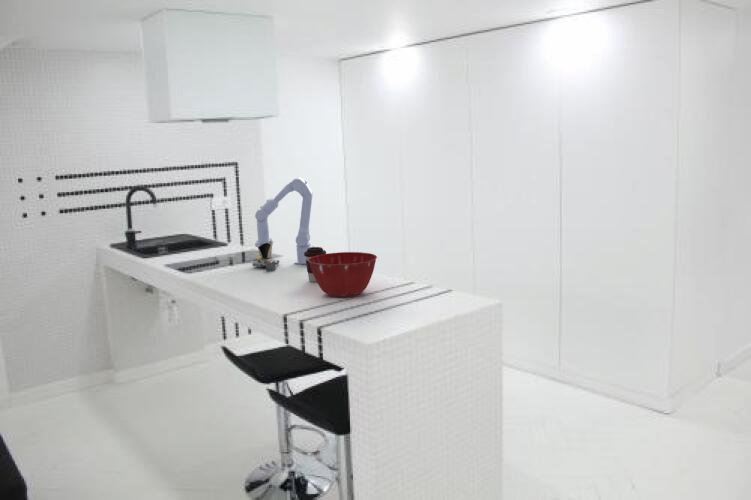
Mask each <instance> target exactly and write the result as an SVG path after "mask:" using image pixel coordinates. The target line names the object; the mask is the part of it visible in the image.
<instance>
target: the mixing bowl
mask: <svg viewBox="0 0 751 500" xmlns="http://www.w3.org/2000/svg"><path fill="white" fill-rule="evenodd" d="M377 259H378V256H377V255H376V254H373V253H369V252H362V251H361V252H358V251H356V252H355V251H346V252H345V251H344V252H343V251H341V252H340V251H339V252H330V253H326V254H322V255H317V256H314V257H311V258H309V259H308V262H309V263H310V267H311V270H312V272H313V275H314V277H315V279H316V281H317V282H316V283H317V285H318V286H319V288H320V290H321V291H322V292H323V293H325V294H326V295H327V296H329V297H333V298H350V297H355V296H356V297H357V296H358V295H360V294H361V293H362V292H364V291H365V290H366V289H367V288H368V286H369V284H370V281H371V280H372V276H373V273H374V271H375V270H374V269H375V266H376V262H377V261H376V260H377Z"/></svg>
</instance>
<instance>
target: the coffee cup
mask: <svg viewBox="0 0 751 500" xmlns="http://www.w3.org/2000/svg"><path fill="white" fill-rule="evenodd" d="M322 254H327V250H324V248H323V247H320V246H314V247H312V248H308V249H307V251H306V252H304V256H306V264H305V265H306V272H307V277H308V281H309V282H311V283H317V281H316V279H315V277H314V275H313V272H312V270H311V267H310V263H309V262H308V259H309V258H311V257H314V256H317V255H322Z"/></svg>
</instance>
